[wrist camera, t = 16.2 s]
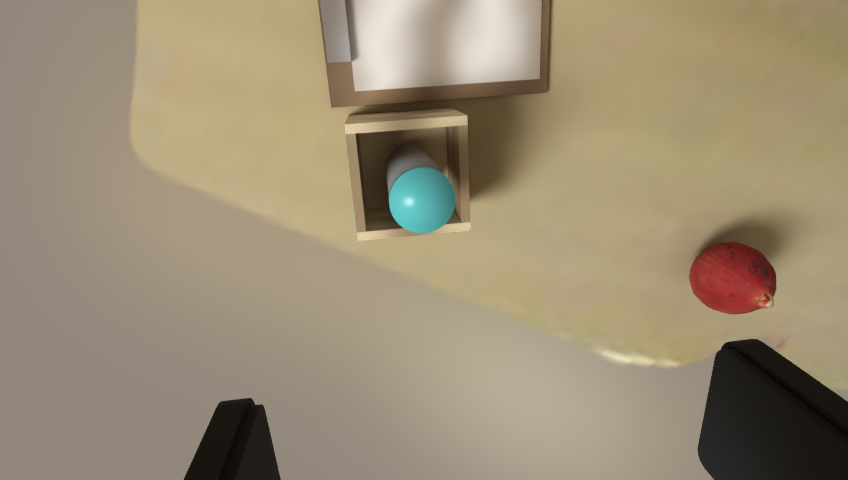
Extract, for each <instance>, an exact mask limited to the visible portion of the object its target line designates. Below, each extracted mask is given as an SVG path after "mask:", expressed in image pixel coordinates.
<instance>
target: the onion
mask: <svg viewBox="0 0 848 480" xmlns="http://www.w3.org/2000/svg"><path fill="white" fill-rule="evenodd" d="M689 279H690V283H691V287H692V290H693V293H694V294H695V295H696V296H697V297H698V298H699V299H700V301H702V302H703V303H704V304H705V305H706V306H707V307H709V308H712V309H714V310H717V311H720V312H723V313H727V314H743V313H749V312H752V311H755V310H758V309H761V308H765V309H768V308H770V307H773V305H774V303H773V302H774V299H773V296H774V294H775V291H776V273H775V270H774V268H773V267H772V266H771V264H770V263H769V262H768V260H767V259H766V258H765V257H764V255H763V254H762V253H760V252H759V251H758V250H756V249H754V248H751V247H749V246H746V245H744V244H741V243H737V242H730V243H720V244H716V245H713V246H711V247H710V248H708V249H706V250H704V251H703V252H702V253H701V254H700V255H699V256H698V257H697V258H696V259H695V261H694V263H693V265H692V266H691V269H690V276H689Z"/></svg>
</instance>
